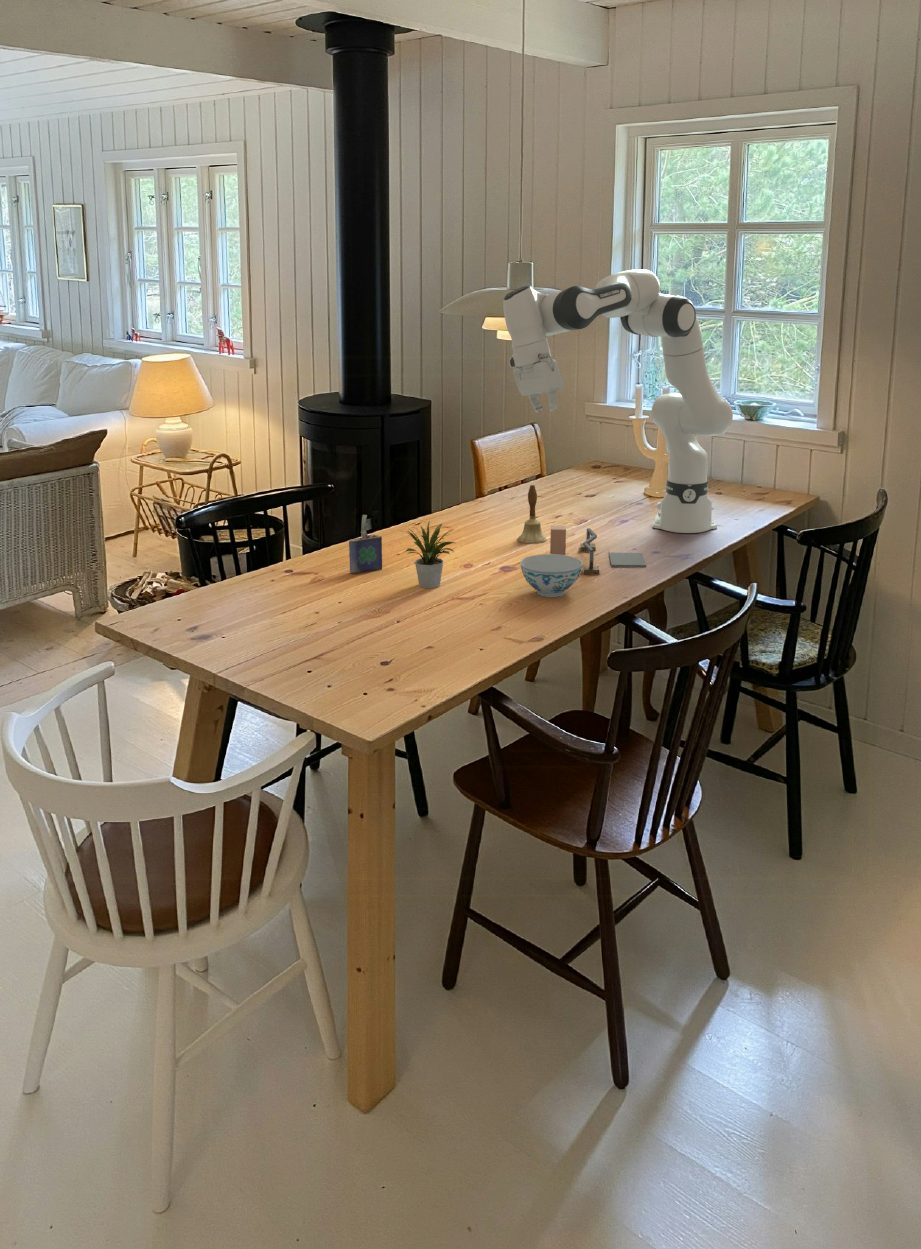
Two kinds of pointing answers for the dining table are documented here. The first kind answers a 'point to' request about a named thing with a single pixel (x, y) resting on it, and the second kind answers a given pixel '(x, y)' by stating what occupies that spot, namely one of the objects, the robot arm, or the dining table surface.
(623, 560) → the slate tile
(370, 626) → the dining table surface
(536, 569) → the chinaware
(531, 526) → the hand bell
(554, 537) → the brick block
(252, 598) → the dining table surface
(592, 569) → the zigzag wire
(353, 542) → the flask
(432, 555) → the house plant
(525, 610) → the dining table surface
